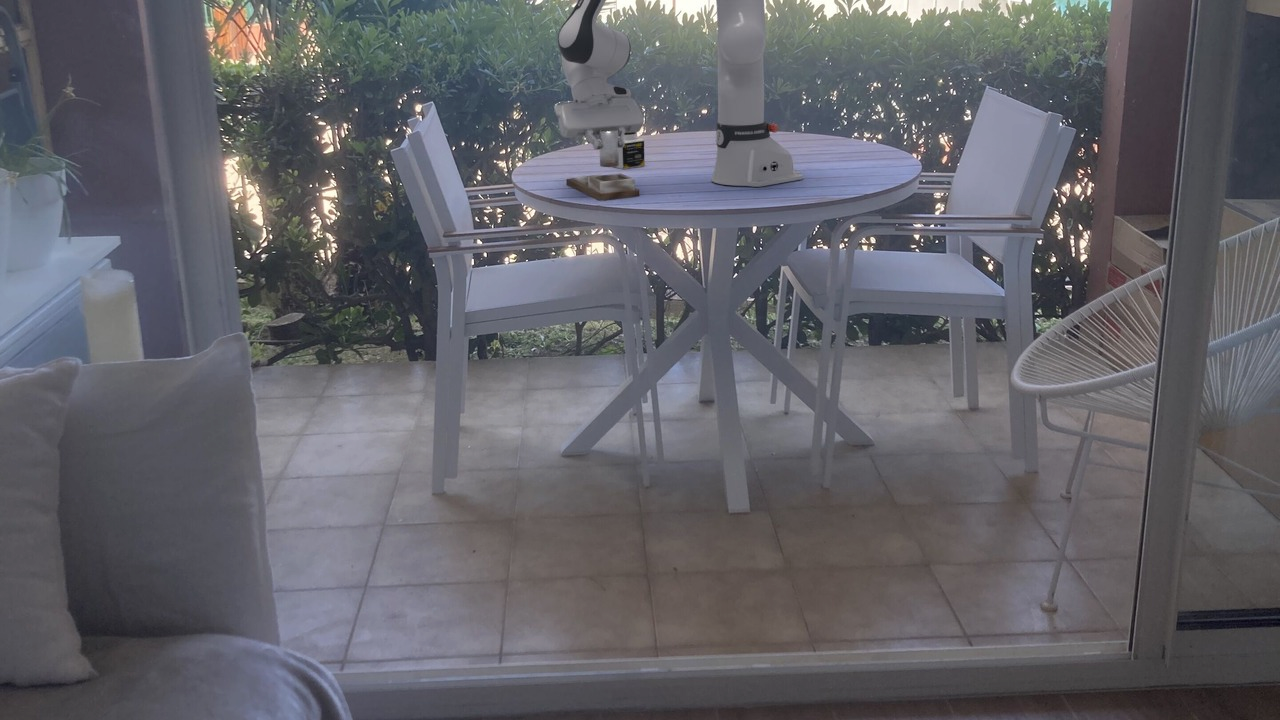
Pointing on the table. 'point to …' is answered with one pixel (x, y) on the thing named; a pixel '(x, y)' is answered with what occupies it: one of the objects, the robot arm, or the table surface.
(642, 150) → the medicine bottle
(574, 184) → the board
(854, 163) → the table surface
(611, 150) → the aluminium barrel nut
